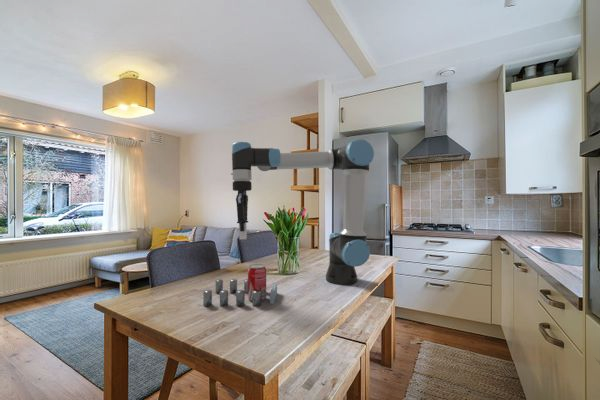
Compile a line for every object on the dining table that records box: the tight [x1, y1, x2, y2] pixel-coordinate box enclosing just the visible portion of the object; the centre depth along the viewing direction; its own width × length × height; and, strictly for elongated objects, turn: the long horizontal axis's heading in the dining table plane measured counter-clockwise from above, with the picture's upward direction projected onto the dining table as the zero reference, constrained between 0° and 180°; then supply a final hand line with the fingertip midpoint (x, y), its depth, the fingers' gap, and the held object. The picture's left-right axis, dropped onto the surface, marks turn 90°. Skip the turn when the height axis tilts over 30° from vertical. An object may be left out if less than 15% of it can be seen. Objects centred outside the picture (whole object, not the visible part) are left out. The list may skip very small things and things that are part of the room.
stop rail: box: [269, 283, 278, 305], centre depth 106 cm, size 2×12×4 cm, turn 0°
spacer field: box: [202, 278, 262, 308], centre depth 106 cm, size 21×17×5 cm
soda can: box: [247, 263, 267, 302], centre depth 105 cm, size 7×7×13 cm
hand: (242, 239), depth 109 cm, fingers closed
